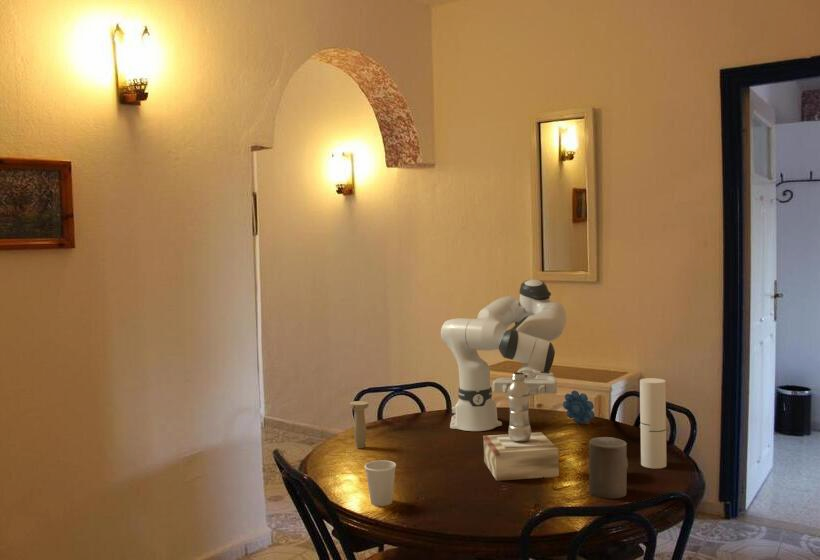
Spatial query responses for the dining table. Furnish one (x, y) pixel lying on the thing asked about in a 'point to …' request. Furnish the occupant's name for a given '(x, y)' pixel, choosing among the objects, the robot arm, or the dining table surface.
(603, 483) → the pillar candle
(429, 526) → the dining table surface
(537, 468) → the riser block
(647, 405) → the cylindrical container
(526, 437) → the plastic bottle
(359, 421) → the handle
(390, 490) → the dixie cup
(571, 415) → the grapes
